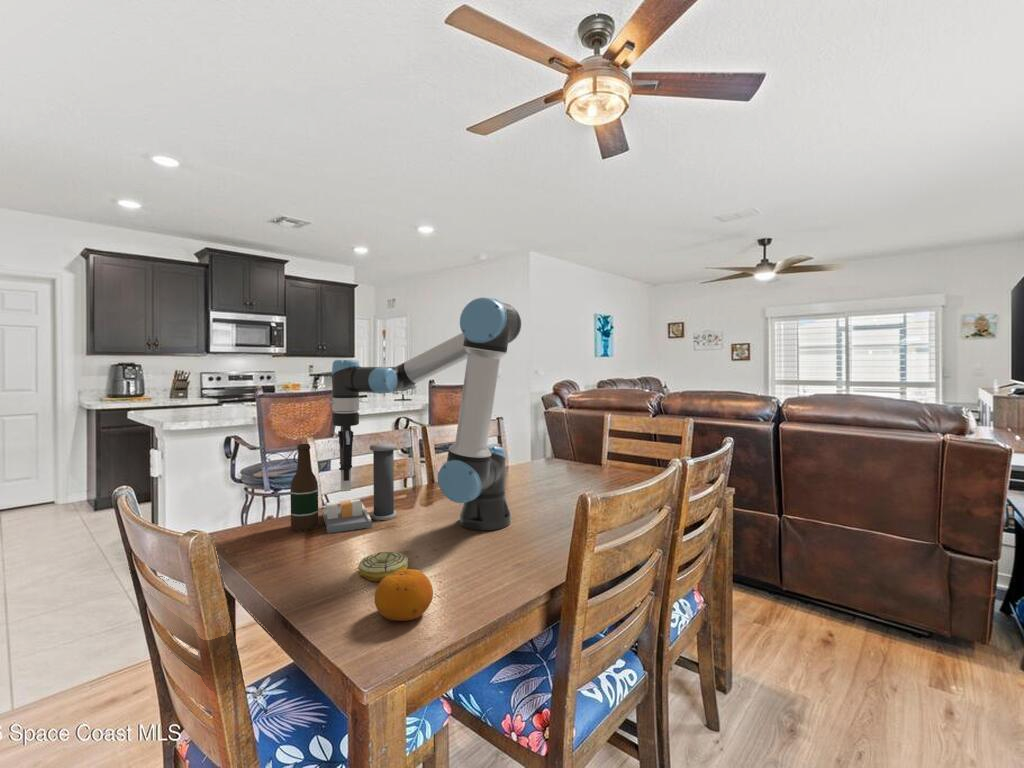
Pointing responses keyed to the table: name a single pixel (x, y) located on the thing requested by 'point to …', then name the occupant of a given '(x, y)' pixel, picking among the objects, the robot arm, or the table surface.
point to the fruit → (403, 595)
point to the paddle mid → (346, 508)
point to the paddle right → (356, 507)
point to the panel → (347, 521)
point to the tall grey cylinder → (383, 481)
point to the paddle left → (332, 510)
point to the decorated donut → (382, 565)
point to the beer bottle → (304, 493)
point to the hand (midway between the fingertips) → (345, 490)
